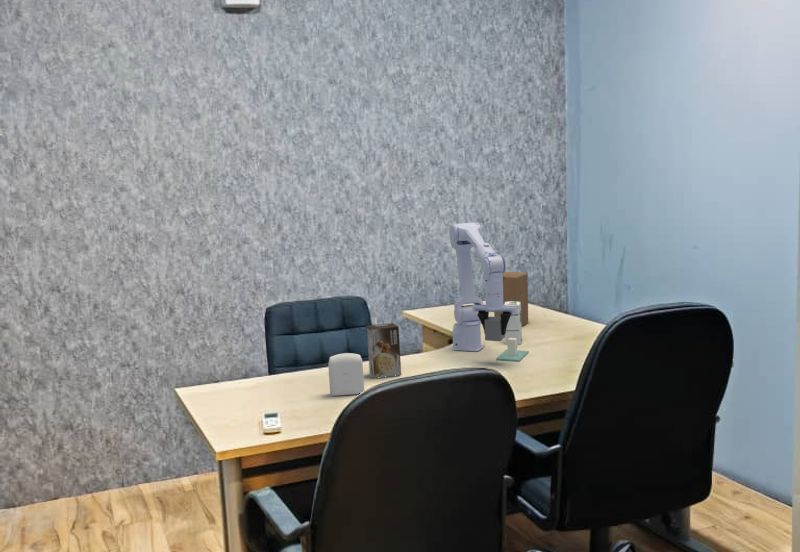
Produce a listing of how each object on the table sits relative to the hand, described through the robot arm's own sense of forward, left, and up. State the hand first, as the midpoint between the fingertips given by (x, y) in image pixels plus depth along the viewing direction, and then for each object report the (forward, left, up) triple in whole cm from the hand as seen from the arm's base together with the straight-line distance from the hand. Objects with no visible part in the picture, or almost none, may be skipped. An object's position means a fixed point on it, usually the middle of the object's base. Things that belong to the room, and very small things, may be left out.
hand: (495, 333), depth 307 cm
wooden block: (-10, +56, -10) cm, 58 cm away
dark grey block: (0, 0, -2) cm, 2 cm away
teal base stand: (+3, +10, -10) cm, 14 cm away
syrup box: (-2, +29, -10) cm, 31 cm away
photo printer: (-33, -44, -10) cm, 56 cm away
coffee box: (-30, -22, -10) cm, 39 cm away
